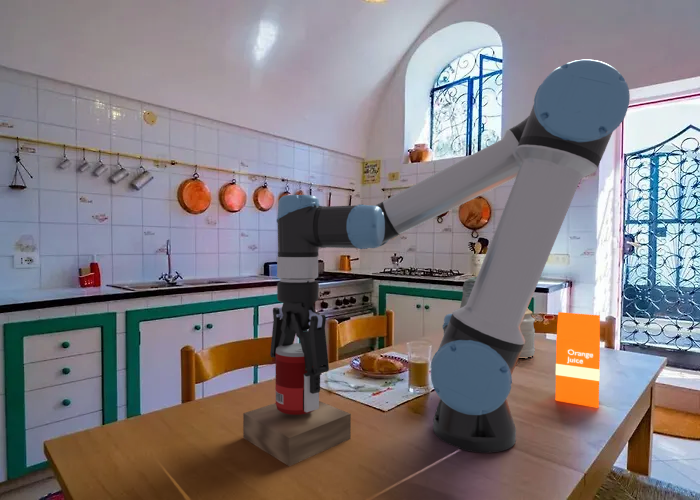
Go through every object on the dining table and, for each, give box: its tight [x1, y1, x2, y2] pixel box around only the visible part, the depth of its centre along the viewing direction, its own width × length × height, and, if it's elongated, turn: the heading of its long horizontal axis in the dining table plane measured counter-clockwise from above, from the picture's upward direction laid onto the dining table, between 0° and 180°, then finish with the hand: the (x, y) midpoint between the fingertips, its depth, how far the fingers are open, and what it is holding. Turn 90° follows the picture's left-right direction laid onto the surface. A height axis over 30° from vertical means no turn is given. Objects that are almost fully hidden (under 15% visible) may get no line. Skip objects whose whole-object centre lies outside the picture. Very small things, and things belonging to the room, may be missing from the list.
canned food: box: [274, 342, 314, 415], centre depth 79 cm, size 8×8×11 cm
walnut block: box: [242, 400, 352, 467], centre depth 79 cm, size 14×14×5 cm
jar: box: [519, 308, 536, 357], centre depth 140 cm, size 13×13×18 cm
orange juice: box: [554, 311, 601, 409], centre depth 100 cm, size 8×9×20 cm
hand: (297, 402), depth 79 cm, fingers closed on canned food, 8 cm apart
